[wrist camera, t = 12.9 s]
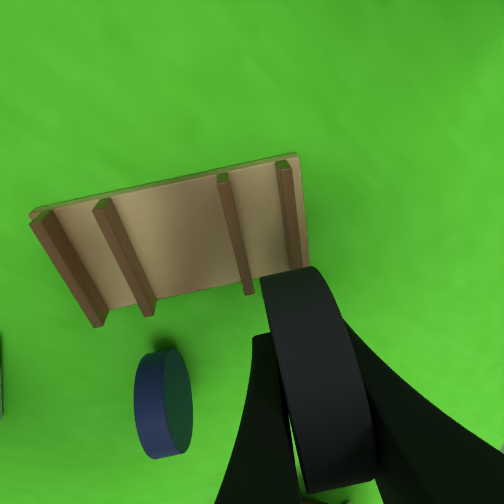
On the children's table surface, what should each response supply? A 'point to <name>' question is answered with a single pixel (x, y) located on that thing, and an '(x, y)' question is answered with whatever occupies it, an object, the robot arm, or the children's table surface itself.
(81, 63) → the children's table surface
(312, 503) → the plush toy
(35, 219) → the disc rack
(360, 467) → the rubber puck
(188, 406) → the navy disc
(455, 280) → the children's table surface
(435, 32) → the children's table surface
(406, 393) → the robot arm
